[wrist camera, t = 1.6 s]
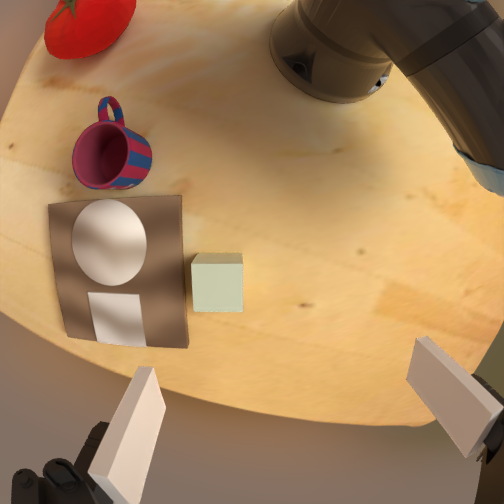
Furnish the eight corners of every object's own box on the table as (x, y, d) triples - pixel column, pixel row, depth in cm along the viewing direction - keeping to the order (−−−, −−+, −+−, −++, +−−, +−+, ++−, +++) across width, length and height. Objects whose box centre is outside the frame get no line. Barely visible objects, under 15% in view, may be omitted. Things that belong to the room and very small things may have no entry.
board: (54, 203, 29) (47, 204, 28) (181, 195, 30) (178, 195, 28) (72, 332, 33) (66, 337, 31) (189, 342, 34) (187, 349, 32)
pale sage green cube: (198, 252, 32) (191, 263, 27) (242, 252, 32) (243, 263, 27) (199, 294, 33) (193, 311, 28) (242, 294, 33) (243, 311, 28)
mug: (100, 190, 30) (70, 191, 23) (105, 110, 27) (79, 95, 21) (151, 188, 30) (129, 187, 23) (156, 104, 28) (137, 84, 21)
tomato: (159, 21, 25) (138, -24, 15) (83, 84, 26) (40, 57, 16) (122, -9, 23) (99, -47, 13) (55, 46, 24) (18, 20, 14)
